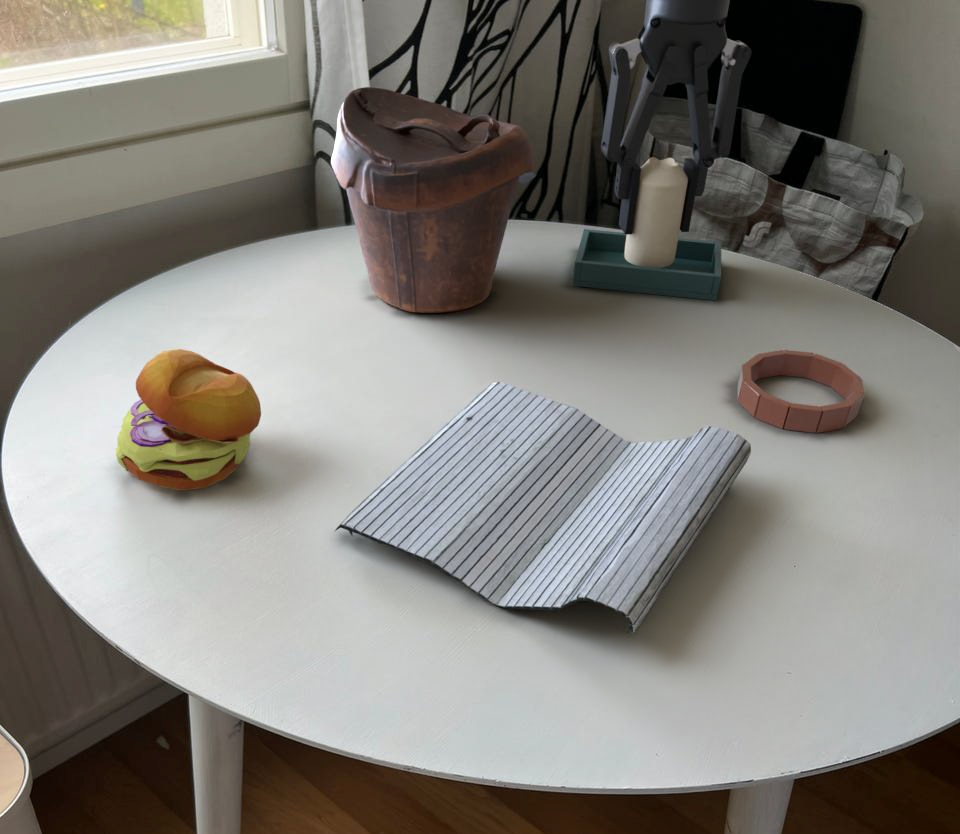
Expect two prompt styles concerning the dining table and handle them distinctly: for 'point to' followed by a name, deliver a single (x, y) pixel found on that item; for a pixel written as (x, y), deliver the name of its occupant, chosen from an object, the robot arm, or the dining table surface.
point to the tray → (683, 278)
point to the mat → (551, 504)
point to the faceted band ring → (799, 414)
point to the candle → (657, 214)
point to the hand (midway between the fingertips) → (653, 227)
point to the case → (428, 195)
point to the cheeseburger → (187, 422)
